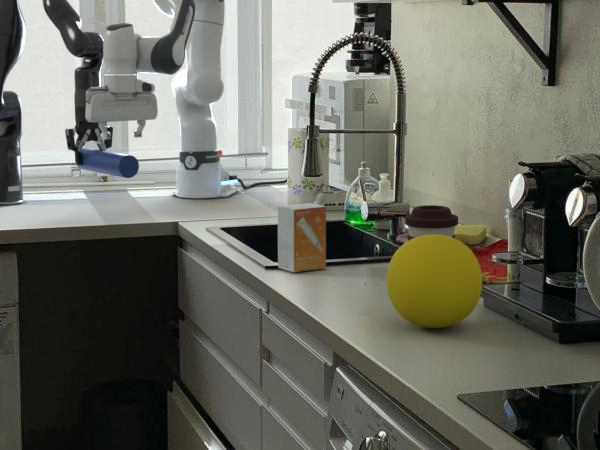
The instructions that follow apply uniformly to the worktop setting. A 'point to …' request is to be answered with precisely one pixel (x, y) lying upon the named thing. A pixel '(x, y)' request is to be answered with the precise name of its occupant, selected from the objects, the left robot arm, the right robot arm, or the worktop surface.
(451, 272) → the toy
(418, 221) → the coffee cup
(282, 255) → the small box
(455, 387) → the worktop surface
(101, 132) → the left robot arm
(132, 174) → the rod
